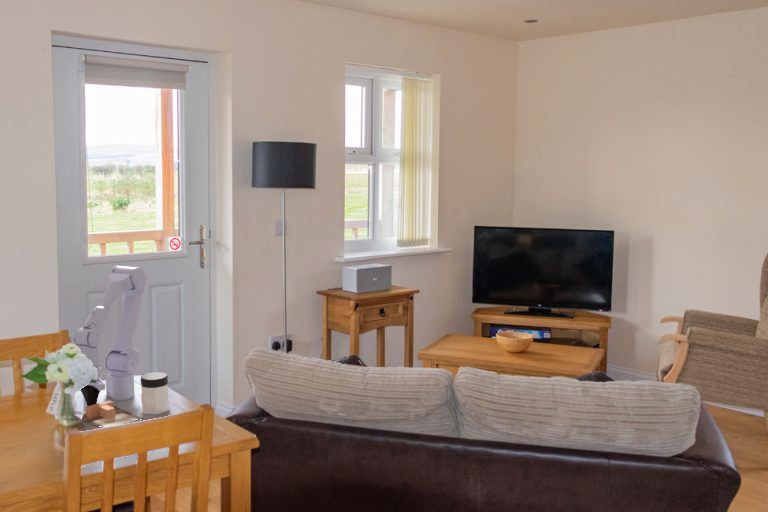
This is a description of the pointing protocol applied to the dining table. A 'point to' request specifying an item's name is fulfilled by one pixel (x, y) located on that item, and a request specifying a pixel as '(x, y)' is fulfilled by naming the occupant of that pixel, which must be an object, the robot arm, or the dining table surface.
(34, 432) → the dining table surface
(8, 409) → the dining table surface
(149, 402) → the jar
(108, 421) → the board
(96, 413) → the t block
